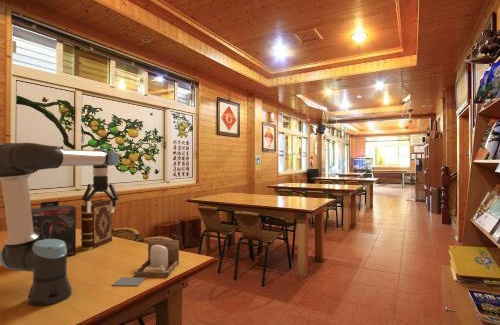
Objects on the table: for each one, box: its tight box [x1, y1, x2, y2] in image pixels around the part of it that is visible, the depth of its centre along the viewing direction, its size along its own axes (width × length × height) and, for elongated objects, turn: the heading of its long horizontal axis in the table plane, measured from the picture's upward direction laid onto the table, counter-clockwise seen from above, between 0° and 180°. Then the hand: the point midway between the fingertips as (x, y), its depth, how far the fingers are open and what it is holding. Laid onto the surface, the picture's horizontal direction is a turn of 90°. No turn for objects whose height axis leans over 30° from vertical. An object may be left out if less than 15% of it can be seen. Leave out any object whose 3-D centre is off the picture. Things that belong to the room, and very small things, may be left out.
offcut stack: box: [142, 265, 167, 273], centre depth 148 cm, size 7×10×4 cm, turn 88°
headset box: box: [31, 200, 77, 257], centre depth 174 cm, size 25×12×33 cm, turn 136°
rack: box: [133, 239, 180, 278], centre depth 153 cm, size 19×17×13 cm
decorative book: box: [79, 198, 113, 251], centre depth 200 cm, size 22×8×30 cm, turn 168°
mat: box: [111, 276, 147, 287], centre depth 138 cm, size 9×12×1 cm
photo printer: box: [150, 245, 169, 271], centre depth 155 cm, size 10×4×12 cm, turn 61°
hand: (100, 212), depth 169 cm, fingers open, 13 cm apart
